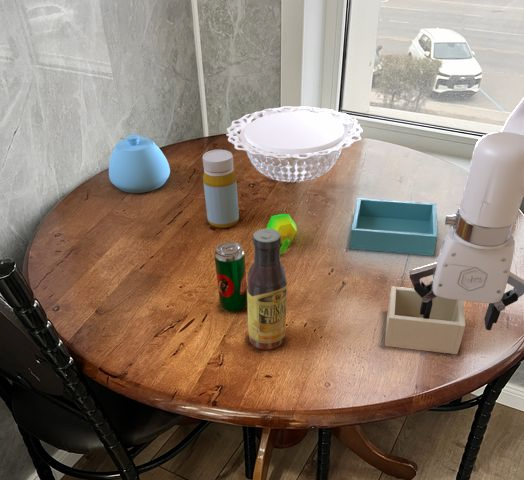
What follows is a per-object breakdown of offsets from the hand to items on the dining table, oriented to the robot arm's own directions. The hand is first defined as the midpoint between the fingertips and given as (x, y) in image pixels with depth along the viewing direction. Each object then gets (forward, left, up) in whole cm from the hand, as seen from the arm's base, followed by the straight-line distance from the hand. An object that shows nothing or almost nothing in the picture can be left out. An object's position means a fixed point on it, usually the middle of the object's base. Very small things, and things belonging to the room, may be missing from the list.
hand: (456, 321), depth 87 cm
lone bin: (+5, 0, -4) cm, 6 cm away
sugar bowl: (+74, -47, -4) cm, 88 cm away
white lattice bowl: (+36, -53, -4) cm, 64 cm away
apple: (+33, -24, -4) cm, 41 cm away
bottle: (+48, -31, -4) cm, 57 cm away
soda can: (+38, -2, -4) cm, 38 cm away
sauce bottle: (+30, +6, -4) cm, 31 cm away
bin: (+11, -31, -4) cm, 33 cm away
